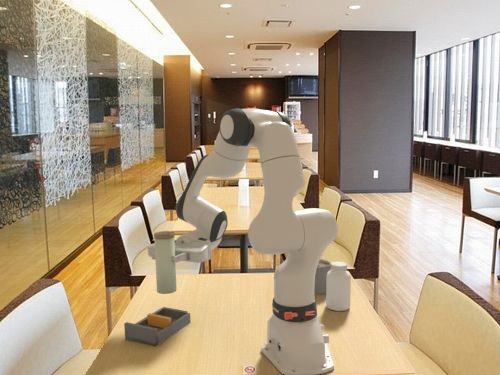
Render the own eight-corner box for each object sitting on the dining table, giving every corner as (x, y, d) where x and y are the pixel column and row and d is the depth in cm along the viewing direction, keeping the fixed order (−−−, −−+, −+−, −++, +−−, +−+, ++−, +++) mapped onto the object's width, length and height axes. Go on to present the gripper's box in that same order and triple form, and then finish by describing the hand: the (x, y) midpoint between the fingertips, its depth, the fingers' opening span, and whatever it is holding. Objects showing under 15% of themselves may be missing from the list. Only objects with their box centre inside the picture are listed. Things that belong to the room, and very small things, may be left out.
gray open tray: (161, 316, 167) (161, 301, 166) (190, 322, 162) (189, 307, 161) (125, 339, 151) (124, 323, 150) (155, 346, 146) (154, 330, 146)
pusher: (150, 323, 159) (149, 313, 159) (171, 327, 156) (171, 317, 155) (147, 324, 158) (147, 314, 158) (169, 329, 155) (168, 319, 154)
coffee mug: (303, 294, 184) (303, 267, 183) (303, 284, 194) (303, 258, 192) (341, 294, 183) (342, 267, 182) (339, 284, 193) (339, 259, 191)
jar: (177, 293, 157) (174, 235, 154) (156, 294, 156) (153, 236, 153) (176, 286, 163) (174, 230, 160) (156, 288, 162) (153, 231, 159)
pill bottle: (355, 307, 171) (356, 264, 169) (337, 313, 167) (338, 269, 164) (338, 300, 178) (338, 258, 175) (321, 306, 173) (321, 263, 171)
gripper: (162, 235, 173) (135, 245, 161) (214, 240, 164) (190, 251, 152) (162, 253, 174) (136, 264, 162) (215, 259, 165) (191, 272, 153)
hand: (163, 258), depth 157 cm, fingers closed on jar, 6 cm apart
